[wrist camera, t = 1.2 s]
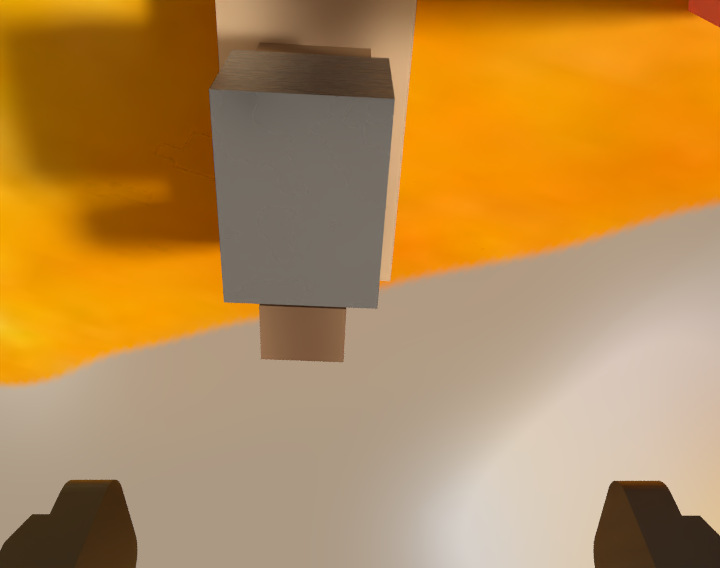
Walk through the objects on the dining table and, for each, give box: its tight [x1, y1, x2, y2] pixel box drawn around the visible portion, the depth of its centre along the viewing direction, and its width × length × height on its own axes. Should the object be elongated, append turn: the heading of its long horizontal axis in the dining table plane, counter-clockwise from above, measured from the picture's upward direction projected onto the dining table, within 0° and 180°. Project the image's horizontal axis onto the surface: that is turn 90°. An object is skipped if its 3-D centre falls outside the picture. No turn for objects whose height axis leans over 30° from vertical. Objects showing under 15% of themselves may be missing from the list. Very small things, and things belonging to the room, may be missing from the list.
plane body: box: [215, 0, 417, 362], centre depth 24 cm, size 7×16×9 cm, turn 177°
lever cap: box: [209, 50, 395, 309], centre depth 22 cm, size 5×7×4 cm
